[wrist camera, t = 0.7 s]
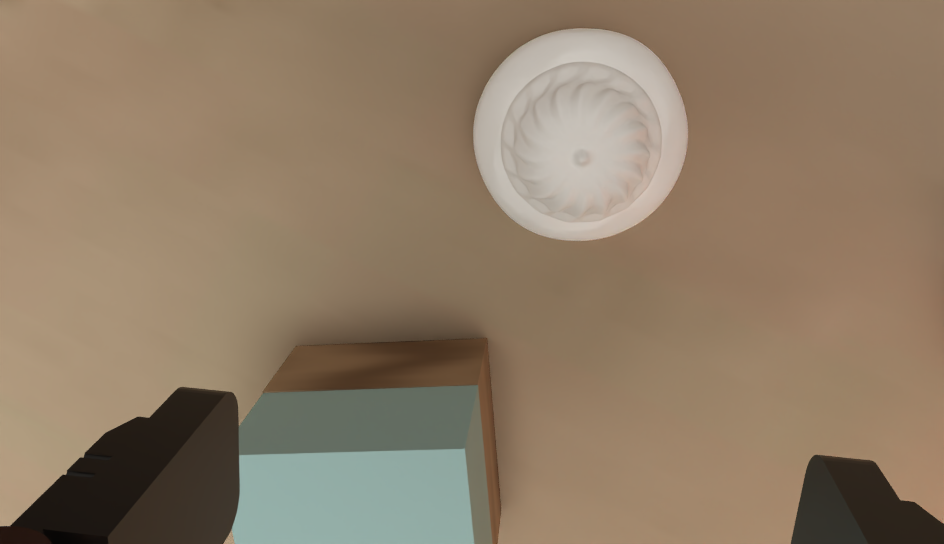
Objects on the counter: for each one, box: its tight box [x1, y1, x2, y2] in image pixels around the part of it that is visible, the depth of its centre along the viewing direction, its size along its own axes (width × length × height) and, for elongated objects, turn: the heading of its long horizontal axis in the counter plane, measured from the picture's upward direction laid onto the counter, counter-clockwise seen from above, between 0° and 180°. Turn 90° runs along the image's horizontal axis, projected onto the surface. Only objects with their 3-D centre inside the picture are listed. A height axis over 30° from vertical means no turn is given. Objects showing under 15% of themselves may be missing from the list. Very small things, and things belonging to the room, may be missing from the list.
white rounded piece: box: [473, 28, 688, 241], centre depth 25 cm, size 6×6×7 cm
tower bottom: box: [263, 338, 501, 544], centre depth 31 cm, size 7×7×4 cm
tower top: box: [232, 385, 493, 544], centre depth 27 cm, size 7×7×4 cm
